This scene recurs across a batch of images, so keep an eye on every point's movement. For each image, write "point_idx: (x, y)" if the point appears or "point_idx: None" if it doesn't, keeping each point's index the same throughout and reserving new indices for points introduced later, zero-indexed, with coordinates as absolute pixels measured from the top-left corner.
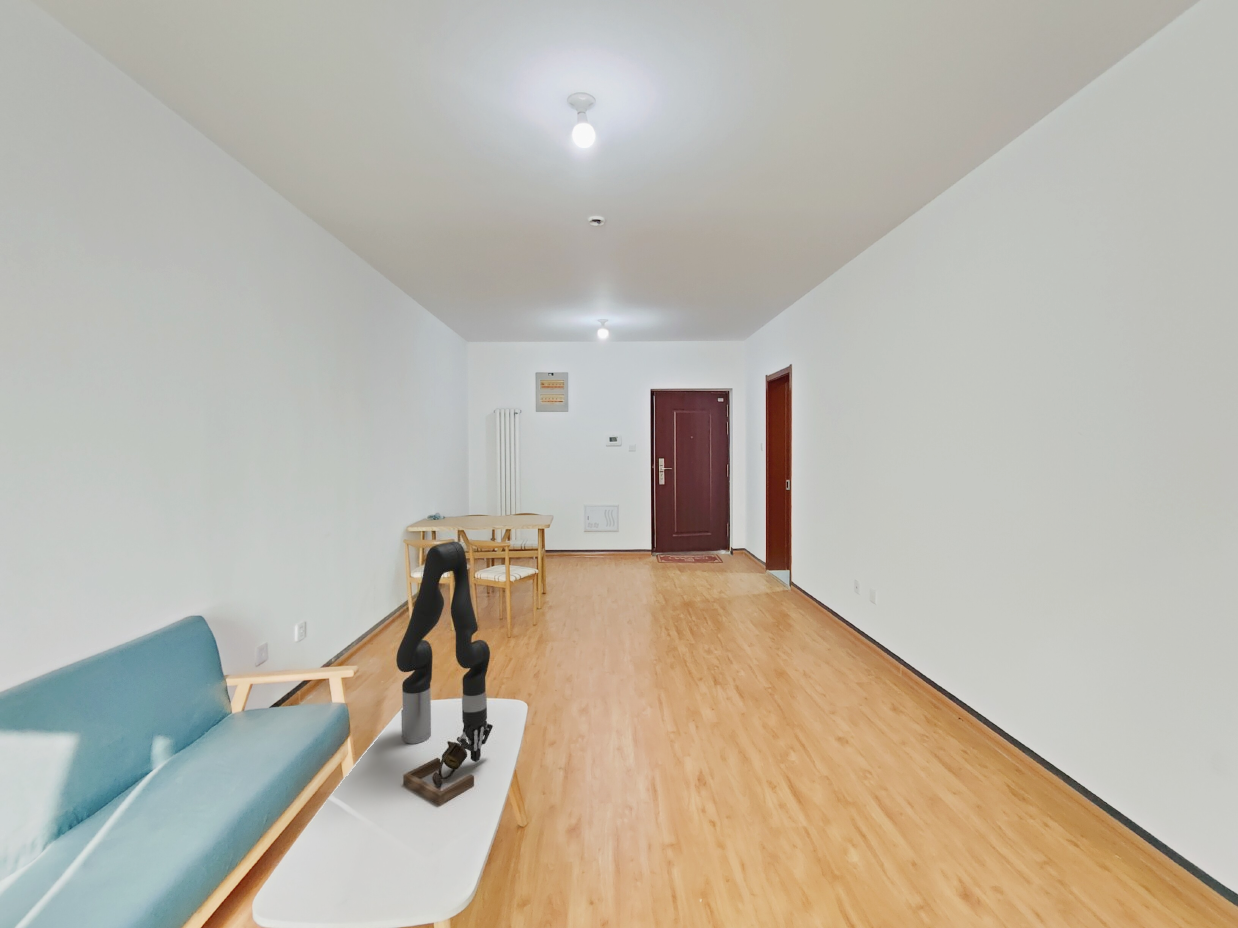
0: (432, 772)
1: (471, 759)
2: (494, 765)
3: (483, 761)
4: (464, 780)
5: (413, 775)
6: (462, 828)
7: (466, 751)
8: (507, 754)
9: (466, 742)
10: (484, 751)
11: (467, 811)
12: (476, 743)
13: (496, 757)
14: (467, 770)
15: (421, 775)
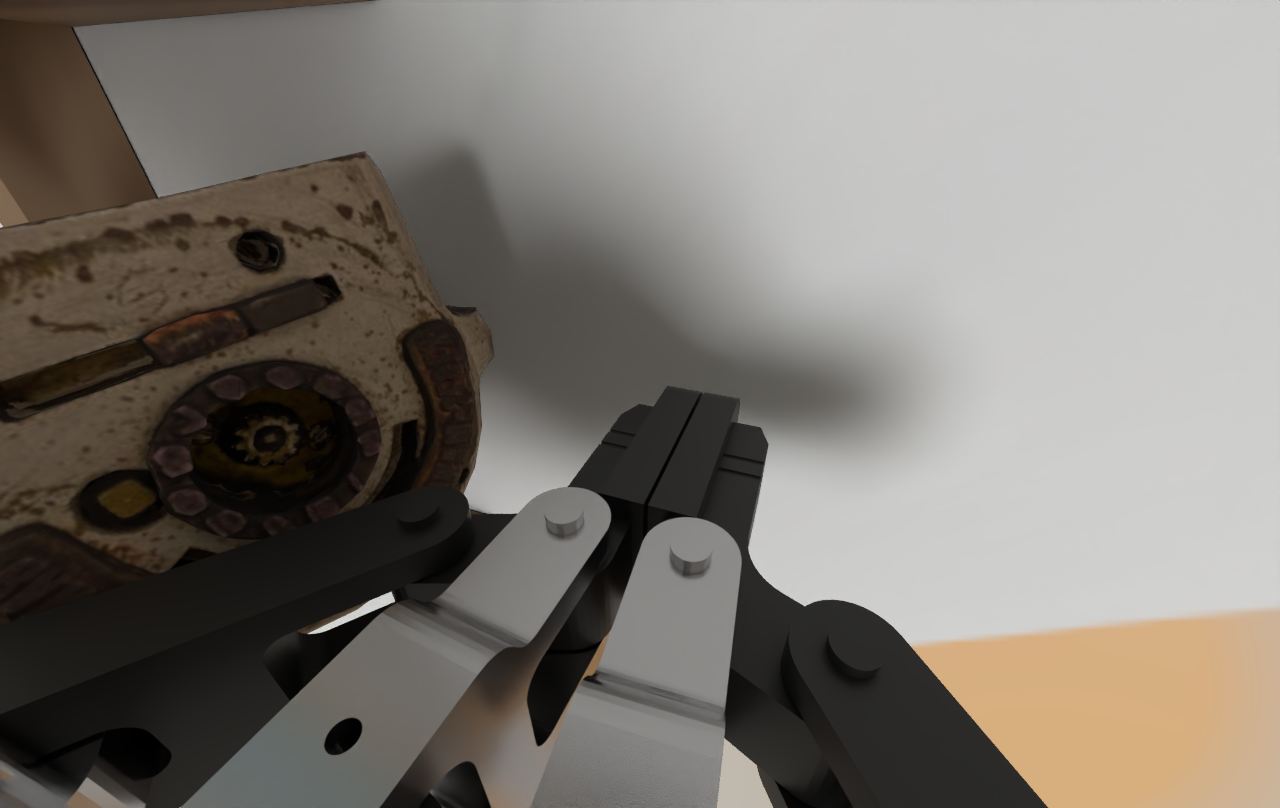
0: (277, 7)
1: (640, 408)
2: (829, 560)
3: (851, 416)
4: None
5: None
6: (332, 628)
7: (353, 608)
8: (1192, 598)
9: (183, 784)
10: (1238, 211)
11: (379, 607)
12: (549, 735)
13: (1036, 509)
14: (591, 373)
15: (118, 13)
